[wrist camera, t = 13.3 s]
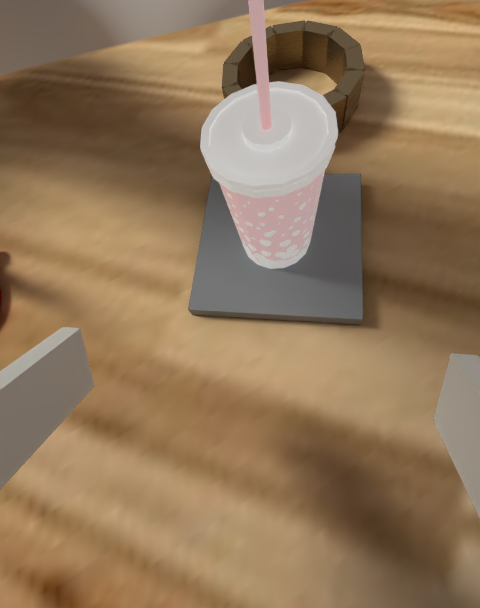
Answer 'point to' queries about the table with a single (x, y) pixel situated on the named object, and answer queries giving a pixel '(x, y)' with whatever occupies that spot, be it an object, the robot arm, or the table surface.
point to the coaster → (290, 280)
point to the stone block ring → (304, 61)
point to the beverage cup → (270, 157)
